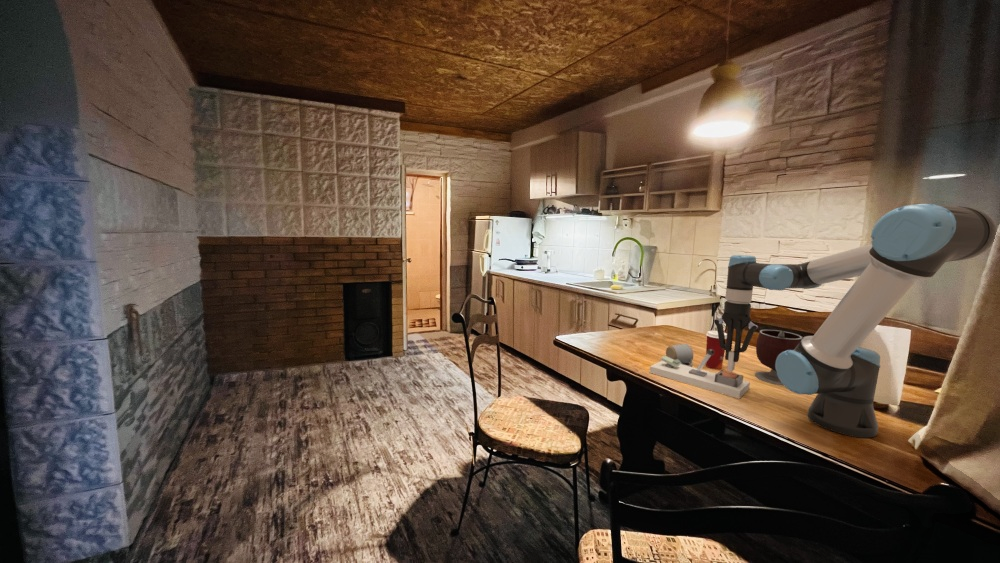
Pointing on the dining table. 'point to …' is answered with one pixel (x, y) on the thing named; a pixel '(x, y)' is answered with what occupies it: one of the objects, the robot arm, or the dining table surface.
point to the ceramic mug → (680, 353)
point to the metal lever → (705, 359)
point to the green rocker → (671, 361)
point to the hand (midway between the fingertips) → (730, 370)
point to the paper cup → (715, 350)
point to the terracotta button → (729, 374)
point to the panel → (702, 379)
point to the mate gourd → (773, 351)
